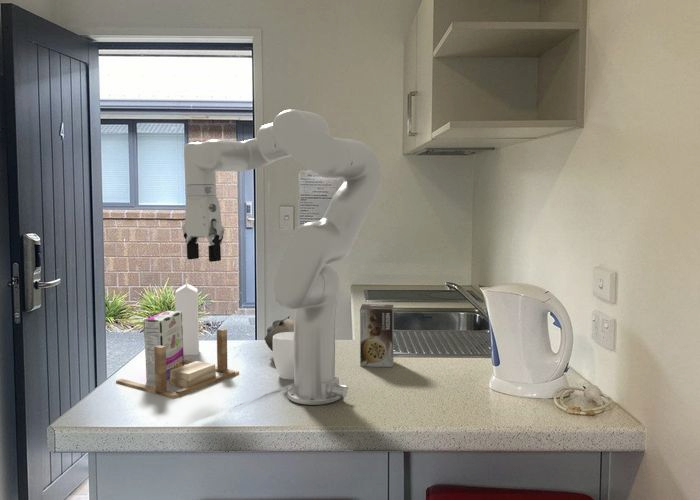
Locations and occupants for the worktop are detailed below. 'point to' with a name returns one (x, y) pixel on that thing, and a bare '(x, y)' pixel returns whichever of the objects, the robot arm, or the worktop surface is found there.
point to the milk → (188, 317)
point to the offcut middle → (188, 383)
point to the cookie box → (376, 335)
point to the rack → (161, 364)
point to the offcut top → (192, 371)
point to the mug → (284, 354)
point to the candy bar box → (164, 341)
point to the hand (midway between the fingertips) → (203, 259)
